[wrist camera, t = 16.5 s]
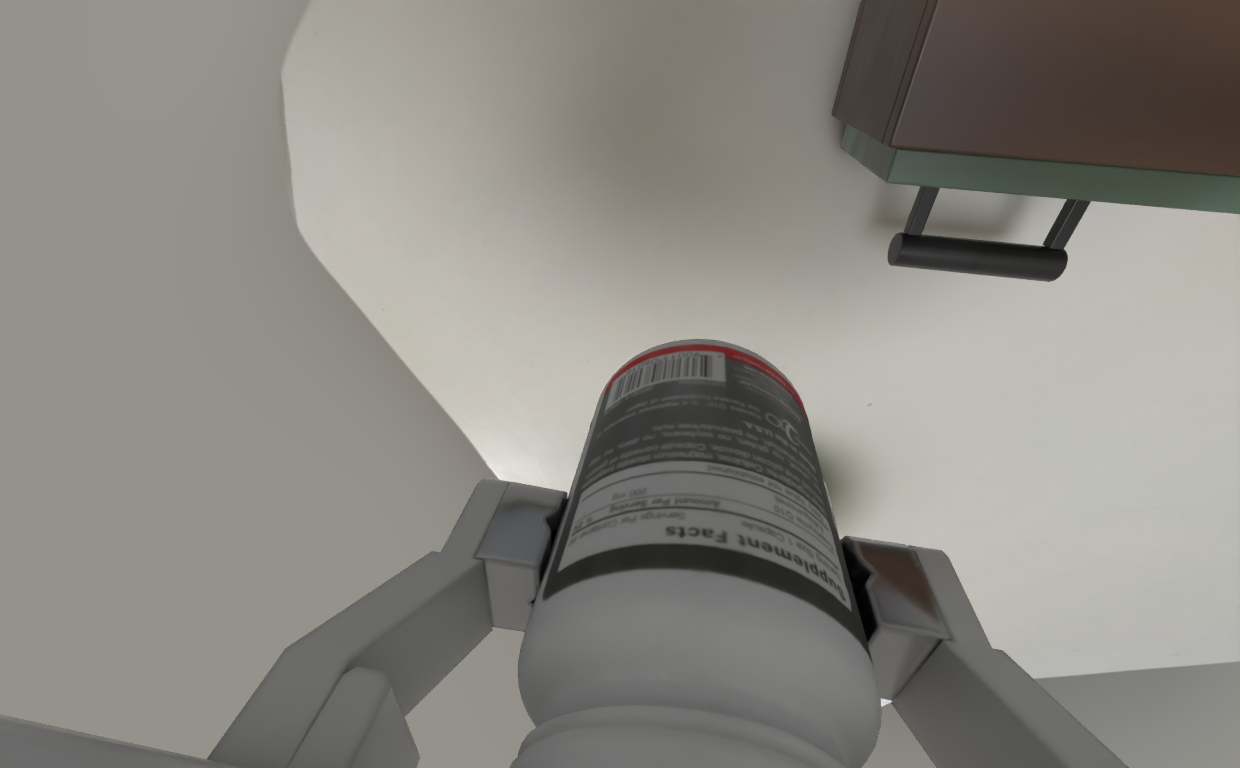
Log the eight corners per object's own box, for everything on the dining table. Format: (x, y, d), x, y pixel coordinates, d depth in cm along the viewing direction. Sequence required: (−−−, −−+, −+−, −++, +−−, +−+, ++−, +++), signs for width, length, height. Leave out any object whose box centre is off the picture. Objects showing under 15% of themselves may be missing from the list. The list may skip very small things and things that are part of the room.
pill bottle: (740, 518, 13) (774, 1035, 6) (572, 454, 13) (412, 931, 6) (850, 384, 10) (1124, 1030, 4) (642, 296, 10) (498, 834, 3)
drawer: (1059, 257, 26) (1174, 326, 20) (815, 233, 27) (848, 291, 21) (1397, -334, 15) (1892, -606, 9) (973, -333, 16) (1141, -573, 10)
